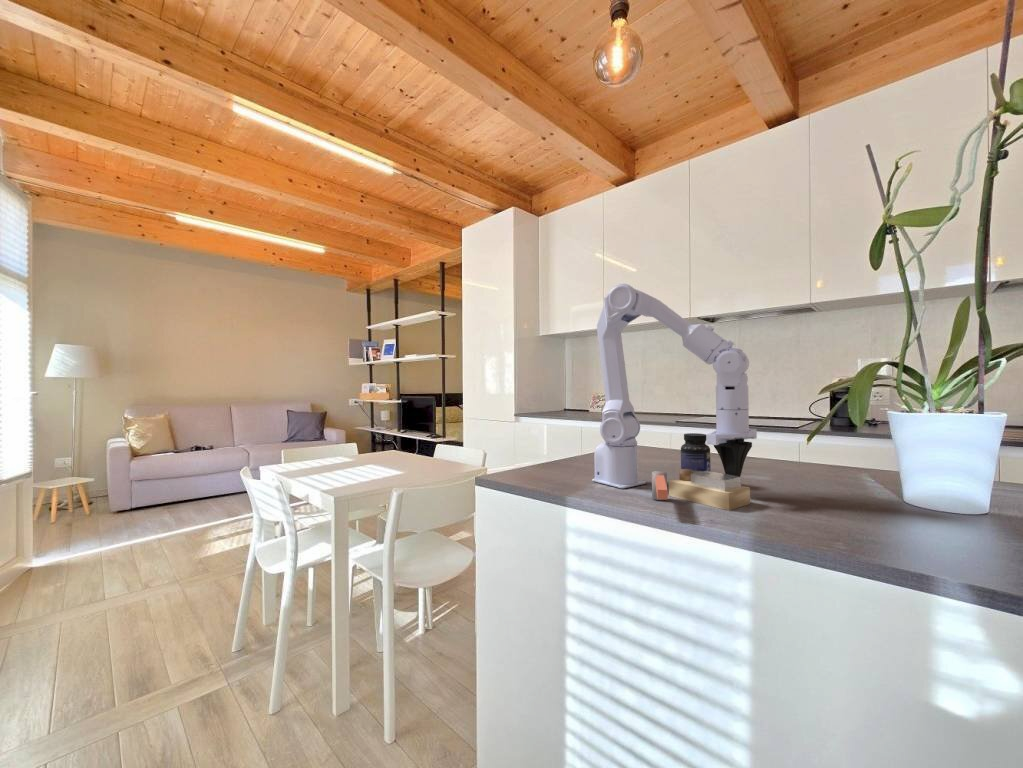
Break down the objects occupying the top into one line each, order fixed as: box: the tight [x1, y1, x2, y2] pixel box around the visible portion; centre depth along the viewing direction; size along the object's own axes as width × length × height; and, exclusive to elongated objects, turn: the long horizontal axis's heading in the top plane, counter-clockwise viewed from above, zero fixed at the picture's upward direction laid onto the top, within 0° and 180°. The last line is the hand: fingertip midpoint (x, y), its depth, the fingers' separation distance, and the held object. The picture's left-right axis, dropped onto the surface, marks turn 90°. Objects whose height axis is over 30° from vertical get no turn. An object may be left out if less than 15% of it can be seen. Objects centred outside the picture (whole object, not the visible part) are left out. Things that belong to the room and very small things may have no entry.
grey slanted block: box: [691, 470, 742, 492], centre depth 83 cm, size 7×5×2 cm
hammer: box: [651, 470, 669, 501], centre depth 80 cm, size 14×3×5 cm, turn 164°
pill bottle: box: [680, 432, 712, 474], centre depth 98 cm, size 6×6×11 cm
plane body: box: [668, 468, 751, 511], centre depth 85 cm, size 12×7×5 cm, turn 33°
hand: (733, 478), depth 86 cm, fingers closed
